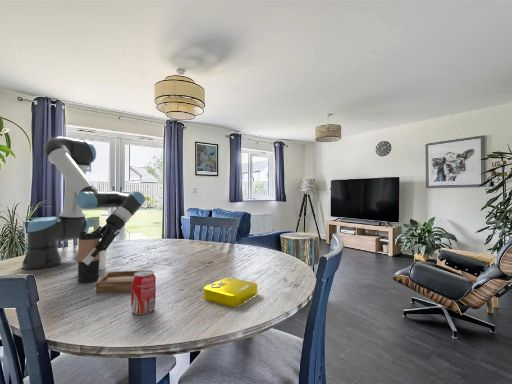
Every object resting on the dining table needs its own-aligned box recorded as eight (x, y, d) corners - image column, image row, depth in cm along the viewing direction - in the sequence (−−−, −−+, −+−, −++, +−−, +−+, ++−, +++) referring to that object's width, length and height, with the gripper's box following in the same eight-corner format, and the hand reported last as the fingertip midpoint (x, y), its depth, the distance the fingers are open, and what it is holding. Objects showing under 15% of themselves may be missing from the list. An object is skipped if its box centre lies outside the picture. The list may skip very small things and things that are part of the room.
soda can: (135, 306, 88) (136, 269, 88) (157, 306, 89) (158, 269, 89) (127, 316, 81) (127, 276, 81) (151, 315, 82) (152, 276, 82)
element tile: (235, 310, 88) (235, 295, 88) (201, 299, 96) (201, 286, 96) (259, 295, 101) (259, 282, 101) (227, 287, 108) (227, 275, 108)
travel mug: (88, 284, 108) (89, 234, 108) (72, 282, 110) (73, 233, 110) (103, 278, 116) (104, 231, 116) (88, 276, 117) (88, 230, 117)
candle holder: (78, 270, 127) (78, 244, 127) (97, 265, 136) (98, 241, 136) (92, 272, 123) (93, 246, 123) (111, 267, 132) (112, 242, 132)
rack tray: (107, 281, 112) (107, 271, 112) (143, 279, 115) (143, 270, 115) (95, 294, 98) (96, 283, 98) (137, 291, 101) (137, 280, 101)
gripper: (137, 225, 120) (100, 270, 107) (111, 222, 131) (74, 263, 117) (126, 214, 116) (86, 260, 102) (100, 212, 127) (60, 253, 113)
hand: (79, 261), depth 110 cm, fingers closed on travel mug, 7 cm apart
